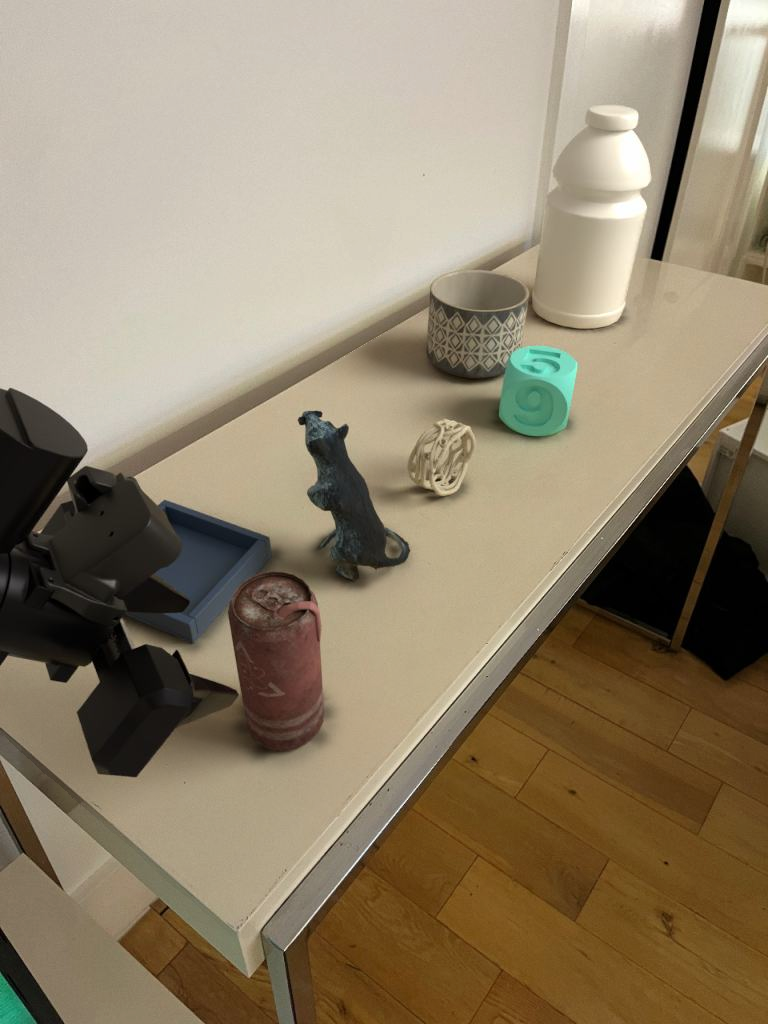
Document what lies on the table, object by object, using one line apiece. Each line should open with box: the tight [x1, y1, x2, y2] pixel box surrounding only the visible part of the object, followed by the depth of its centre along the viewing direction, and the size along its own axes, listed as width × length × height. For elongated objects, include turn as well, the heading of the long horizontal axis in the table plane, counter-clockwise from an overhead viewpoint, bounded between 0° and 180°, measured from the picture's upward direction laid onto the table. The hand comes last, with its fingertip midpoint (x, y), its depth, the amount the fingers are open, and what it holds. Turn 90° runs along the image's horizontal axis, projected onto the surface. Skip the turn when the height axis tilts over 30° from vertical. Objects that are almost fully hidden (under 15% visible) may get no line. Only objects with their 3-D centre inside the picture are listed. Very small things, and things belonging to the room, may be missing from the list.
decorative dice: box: [498, 345, 579, 437], centre depth 93 cm, size 8×8×8 cm
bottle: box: [531, 104, 652, 329], centre depth 110 cm, size 14×14×28 cm
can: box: [227, 571, 325, 752], centre depth 57 cm, size 6×6×14 cm
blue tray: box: [124, 499, 273, 645], centre depth 73 cm, size 13×13×2 cm
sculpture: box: [297, 410, 411, 582], centre depth 72 cm, size 8×11×15 cm
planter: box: [426, 269, 530, 379], centre depth 103 cm, size 13×13×10 cm
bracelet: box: [407, 418, 477, 497], centre depth 83 cm, size 4×8×8 cm, turn 141°
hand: (208, 649), depth 52 cm, fingers open, 9 cm apart
